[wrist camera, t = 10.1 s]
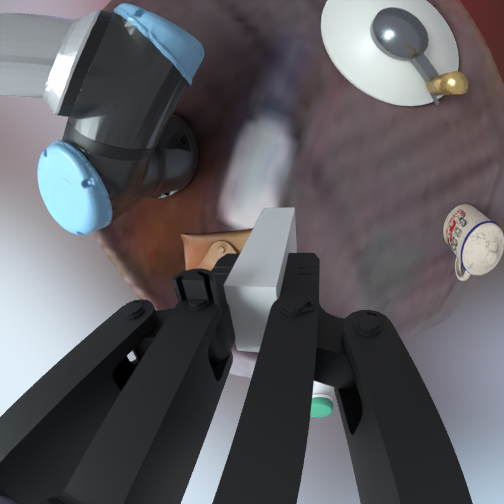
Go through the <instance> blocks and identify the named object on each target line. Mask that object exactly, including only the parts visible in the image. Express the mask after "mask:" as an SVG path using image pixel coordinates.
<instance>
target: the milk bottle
mask: <svg viewBox="0 0 504 504" xmlns="http://www.w3.org/2000/svg"><path fill="white" fill-rule="evenodd" d="M333 393H334V387H332V386H329V385H325V384H322V383H319V382H316V381H314V385H313V395H312V405H311V413H310V416H312V417H325V416H328V415H330V414H331V413H332V411H333V399H332V396H333Z"/></svg>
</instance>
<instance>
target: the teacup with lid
mask: <svg viewBox="0 0 504 504" xmlns="http://www.w3.org/2000/svg"><path fill="white" fill-rule="evenodd" d="M443 235H444V239H445V241H446V243H447V244H448V246H449V247H450V248H451V249H452V251H453V252H454V253H455V255H456V256H457V258H456V262H455V272H456V275H457V278H458V279H459V280H461V281H465V280H467V279H468V278H469V276H470V274H473V275H483V274H485V273H487V272H489V271H491V270H492V269H493V268H494V267H495V266H496V265H497V263H498V262H499V260H500V258H501V256H502V253H503V250H504V235H503V232H502V230H501V228H500V227H499V225H498V224H496V223H495V222H493V221H491V220H489V219H488V218H487V217H486V216H485V215H483V214H482V213H481V212H480V211H478V210H477V209H476V208H474V207H473V206H471V205H468V204H462V205H459V206H457V207H455V208H454V209H453V210H452V211H451V212H450V213H449V214H448V216H447V218H446V220H445V223H444V227H443ZM461 263H462V266H463V267H464V269H465V270H466V271H465V273H464V275H462V272H461Z"/></svg>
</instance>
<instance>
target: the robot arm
mask: <svg viewBox="0 0 504 504" xmlns="http://www.w3.org/2000/svg"><path fill="white" fill-rule="evenodd" d="M113 12H114V13H109V12H105V11H101V10H96V11H94V12H92V13H90V14H88V15H86V16H84V17H82V18H79V19H76V20H74V19H68V18H62V17H54V16H46V15H36V14H23V13H21V14H20V13H0V95H1V96H20V97H32V98H43V99H44V100H46V101H47V103H48V104H49V106H50V108H51V110H52V111H53V113H54V115H61V116H68V117H69V118H68V121H67V125H66V128H65V132H64V136H63V139H62V140H61V141H55V142H53V143H52V144H51V145H50V146H49V147H48V148H47V149H45V150H44V151H43V153H42V154H41V157H40V160H39V164H38V183H39V188H40V192H41V195H42V198H43V200H44V202H45V205H46V207H47V209H48V211H49V212H50V214H51V215H52V217H53V218H54V219H55V220H56V221H57V222H58V223H59V224H60V225H61V226H62V227H63V228H64V229H66V230H67V231H69V232H71V233H74V234H77V235H86V234H91V233H93V232H95V231H97V230H99V229H101V228H104V227H106V226H107V225H109V223H110V222H111V221H113V220H114V219H116V218H117V217H119V216H120V215H122V214H123V213H125V212H126V211H128V210H129V209H131V208H132V207H134V206H135V205H137V204H139V203H140V202H142V201H143V200H145V199H155V198H165V197H168V196H171V195H173V194H175V193H177V192H178V191H180V190H181V189H183V188H184V187H185V186H186V185H187V184H188V183H189V182H190V181H191V179H192V178H193V176H194V174H195V172H196V169H197V165H198V159H199V150H198V144H197V140H196V137H195V135H194V133H193V131H192V129H191V128H190V126H189V125H188V124H187V123H186V122H185V121H184V120H183V119H182V118H180V117H179V116H177V115H175V114H173V113H174V111H175V109H176V108H177V106H178V104H179V102H180V100H181V99H182V97H183V95H184V93H185V92H186V90H187V88H188V86H191V84H192V78H193V77H194V75H195V73H196V71H197V69H198V67H199V66H200V64H201V62H202V60H203V58H204V48H203V46H202V44H201V43H200V42H199V41H198V40H197V39H196V38H195V37H193V36H192V35H191V34H189V33H188V32H186V31H185V30H183V29H182V28H180V27H179V26H177V25H175V24H174V23H172V22H170V21H168V20H166V19H165V18H163V17H161V16H159V15H157V14H154V13H152V12H148V11H146V10H144V9H142V8H140V7H138V6H135V5H132V4H128V3H123V4H120V5H119V6H118V7H116V8H115V9H114V11H113ZM172 281H173V284H174V287H175V291H176V294H177V297H178V300H179V302H178V304H177V305H176V307H175V308H173V309H167V310H159V311H155V309H154V306H153V304H152V303H151V302H150V301H148V300H143V299H141V300H134V301H132V302H129V303H127V304H126V305H124V306H122V307H121V308H120V309H119V310H118V311H117V312H115V313H114V314H113V315H112V316H110V317H109V318H108V319H107V320H106V321H105V322H104V323H102V324H101V325H100V326H99V327H98V328H96V329H95V330H94V331H93V332H92V333H91V334H89V335H88V336H87V337H86V338H85V339H84V340H83V341H81V342H80V343H79V344H78V345H77V346H76V347H75V348H73V349H72V350H71V351H70V352H69V353H68V354H67V355H66V356H64V357H63V358H62V359H61V360H60V361H59V362H58V363H57V364H56V365H54V366H53V367H52V368H51V369H50V370H49V371H48V372H47V373H46V374H45V375H43V376H42V377H41V378H40V379H39V380H38V381H37V382H36V383H35V384H34V385H33V386H32V387H31V388H30V389H29V390H28V391H26V392H25V393H24V394H23V395H22V396H21V397H20V398H19V399H18V400H17V401H16V402H15V403H14V404H13V405H12V406H11V407H10V408H9V409H8V410H7V411H6V412H5V413H4V414H3V415H2V416H1V417H0V504H181V501H182V498H183V496H184V493H185V491H186V488H187V485H188V483H189V480H190V478H191V475H192V472H193V470H194V467H195V464H196V462H197V459H198V456H199V454H200V451H201V448H202V446H203V443H204V440H205V437H206V435H207V432H208V429H209V427H210V424H211V421H212V418H213V416H214V412H215V410H216V407H217V404H218V402H219V399H220V396H221V393H222V390H223V388H224V385H225V382H226V379H227V376H228V374H229V371H230V368H231V365H232V362H233V355H232V351H231V348H232V346H233V343H234V340H235V343H236V347H237V350H241V351H252V352H259V354H258V357H257V361H256V364H255V368H254V371H253V375H252V379H251V382H250V386H249V389H248V393H247V396H246V399H245V403H244V406H243V410H242V413H241V416H240V420H239V423H238V426H237V429H236V433H235V436H234V439H233V442H232V446H231V449H230V452H229V455H228V458H227V461H226V464H225V467H224V471H223V474H222V477H221V480H220V483H219V486H218V489H217V492H216V494H215V497H214V501H213V503H212V504H296V503H297V498H298V492H299V487H300V482H301V475H302V470H303V464H304V458H305V451H306V444H307V437H308V430H309V422H310V413H311V405H312V395H313V385H314V381H316V382H319V383H322V384H325V385H329V386H332V387H334V391H335V395H336V398H337V402H338V406H339V410H340V414H341V418H342V422H343V426H344V430H345V434H346V438H347V442H348V446H349V451H350V455H351V460H352V464H353V469H354V473H355V478H356V483H357V487H358V492H359V497H360V502H361V504H473V503H472V500H471V497H470V494H469V490H468V487H467V484H466V481H465V478H464V475H463V472H462V470H461V467H460V464H459V461H458V459H457V456H456V454H455V451H454V448H453V446H452V443H451V441H450V438H449V436H448V434H447V431H446V429H445V427H444V424H443V422H442V420H441V418H440V415H439V413H438V411H437V409H436V406H435V404H434V402H433V400H432V398H431V396H430V394H429V392H428V390H427V388H426V386H425V384H424V382H423V380H422V378H421V376H420V374H419V372H418V370H417V368H416V366H415V364H414V362H413V360H412V358H411V357H410V355H409V353H408V351H407V349H406V348H405V346H404V344H403V342H402V340H401V338H400V337H399V335H398V333H397V331H396V330H395V328H394V326H393V324H392V323H391V321H390V320H389V319H388V318H387V317H386V316H385V315H383V314H381V313H379V312H376V311H372V310H360V311H357V312H354V313H352V314H350V315H349V316H348V317H346V319H342V318H338V317H335V316H332V315H330V314H328V313H327V312H325V311H324V310H323V309H322V308H321V306H320V304H319V258H318V257H317V256H316V255H315V253H297V245H296V223H295V207H291V208H264V209H263V211H262V213H261V215H260V217H259V219H258V221H257V222H256V224H255V226H254V228H253V230H252V232H251V234H250V236H249V238H248V240H247V241H246V243H245V245H244V247H243V249H242V251H241V253H227V254H225V255H224V256H223V257H221V258H220V259H218V261H217V262H216V264H215V265H214V268H213V269H212V270H211V271H210V270H208V269H202V268H197V269H190V270H186V271H183V272H181V273H180V274H178V275H176V276H175V277H174V278H173V279H172ZM131 351H133V352H134V355H135V356H136V359H135V360H134V361H129V359H128V358H127V355H128V354H129V353H130V352H131Z"/></svg>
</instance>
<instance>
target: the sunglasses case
mask: <svg viewBox="0 0 504 504" xmlns="http://www.w3.org/2000/svg"><path fill="white" fill-rule="evenodd" d="M252 230H253V229H247V230H240V231H230V232H219V233H207V234H206V233H205V234H181V238H182V240H183V242H184V253H185V265H186V270H190V269H197V268H202V269H208V270H210V271H211V270H212V269H213V268H214V265H215V264H216V262H217V261H218V259H220V258H221V257H223V256H224V255H225V254H227V253H241V251H242V249H243V247H244V245H245V243H246V241H247V240H248V238H249V236H250V234H251V232H252Z"/></svg>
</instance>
